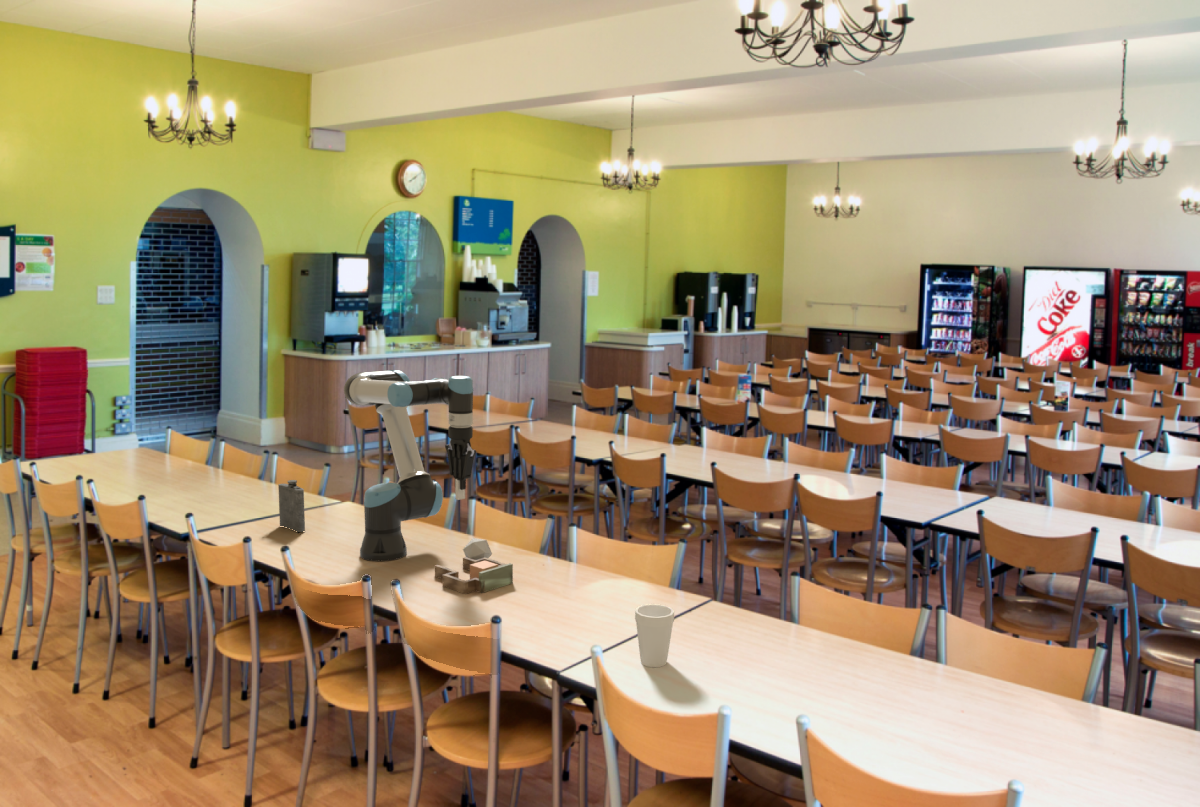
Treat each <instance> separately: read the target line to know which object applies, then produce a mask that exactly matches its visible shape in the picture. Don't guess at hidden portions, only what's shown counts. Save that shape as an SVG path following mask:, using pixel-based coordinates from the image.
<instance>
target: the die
mask: <svg viewBox="0 0 1200 807" xmlns="http://www.w3.org/2000/svg"><path fill="white" fill-rule="evenodd" d="M462 550H463V553H464V555H465V557H467V558H471V559H474V560H478V559H481V558H489V559H490V557H491V556H492V555H493V552H492V550H491V547H490V545H489V542H488V540H487V539H483V538H476V537H475V538H474V537H472V539H471V540H470V541H468V543H467V544H466V545H465V546H464V547H463V549H462Z"/></svg>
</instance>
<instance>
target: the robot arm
mask: <svg viewBox="0 0 1200 807" xmlns="http://www.w3.org/2000/svg"><path fill="white" fill-rule="evenodd" d="M473 382H474V381H473V379H472V377H470V376H468V375H467V376H466V375H454V376H453V375H452V376H449V378H448V379H447V378H443V377H434V378H432V379H430V380H429V379H427V380H419V381H418V380H416V381H414V380H413V381H411V380H410V378H409V376H408V375H407V374H406V373H405V372H403V371H402V370H398V369H397V370H393V369H388V370H379V371H362V372H358V373H355V374H353V375H350V377H349V378H348V379H347V380H346V382H345V383H344V386H343V393H344V394H343V395H344V396H345V398H346V400H347V401H349V403H351V404H352V405H356V406H363V407H364V406H375V411H376V413H378V414H379V415H381V416H382V419H383V422H384V425H385V426H384V427H385V430H386V433H387V437H388V440H389V443H390V444H389V445H390V447H391V450H392V454H393V458H394V462H395V466H396V469H397V472H398V476H399V480H398V481H397V482H382V483H378V484H374V485H371V486H370V487H369V488H367V489H366V490H365V492H364V496H363V497H364V498H363V507H364V536H363V537H362V538H363V539H362V541H361V542H362V543H361V546H360V548H359V556H360V558H361V559H363V560H365V561H369V562H389V561H390V562H391V561H395V560H399V559H403V558H404V557H406V556H407V553H408V552H407V549H408V547H407V545H406V542H405V538H404V536H403V533H402V526H401V525H402V522H406V521H411V520H417V519H422V518H423V519H424V518H425V519H426V518H428V517H431V516H436V515H437V514H438V513H439V512H440V510H441V508H442V504H443V496H444V493H443V489H442V486H441V484H440V483H439V482H438V481H435V480H432V477H431V474H430V473H428V472H426V471H425V468H424V464H423V462H422V458H421V455H420V452H419V451H420V450H419V448H418V444H417V441H416V438H415V434H414V430H413V427H412V423H411V420H410V416H409V413H408V409H407V408H408V407H413V406H422V405H434V404H445V405H448V425H449V426H448V433H447V434H448V438H449V439H450V441H449V443H448V444H445V445H444V447H445V450H446V455H447V461H448V468H449V475H450V476H453V479H454V489H455V492H454V493H455V500H457V501H459V500H465V499H466V488H467V485H466V484H467V479H470V478H471V477H472V471H473V464H474V458H475V456H476V453H477V450H476V449H472V444H471V439H472V438H473V432H474V431H473V429H474V428H473V424H474V412H473V409H474V408H473V407H474V385H473V384H474V383H473Z"/></svg>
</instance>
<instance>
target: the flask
mask: <svg viewBox="0 0 1200 807" xmlns="http://www.w3.org/2000/svg"><path fill="white" fill-rule="evenodd" d="M297 483H298V480H296V479H291V480H290V479H289V480H287V483H279V484H278V506H279V508H278V509H279V510H278V511H279V513H278V514H279V527H280V526H284V527H287V528H290V529H293V530H295V531H297V532H303V531H305V532H306V521H305V519H306V518H305V494H304V493H305V489H304V488H302V487H301V486H297ZM287 528H286V529H287ZM290 529H289V530H290ZM293 530H292V531H293ZM295 531H294V532H295ZM297 532H296V533H297Z"/></svg>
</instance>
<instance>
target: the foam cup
mask: <svg viewBox="0 0 1200 807" xmlns="http://www.w3.org/2000/svg"><path fill="white" fill-rule="evenodd" d="M634 619H635V626H636V633H637V640H638V651H639V659H640V663H641V665H643V666H645V667H648V668H660V667H664V666H665V665H666V664H667V663H668V657H669V651H670V650H669V649H670V644H671V638H672V631H673V624H674V622H675V611H674V609H673V607H670V606H668V605H666V604H665V605H664V604H659V603H651V604H650V603H648V604H642V605H639V606H637V607H636V608H635V610H634Z"/></svg>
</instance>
